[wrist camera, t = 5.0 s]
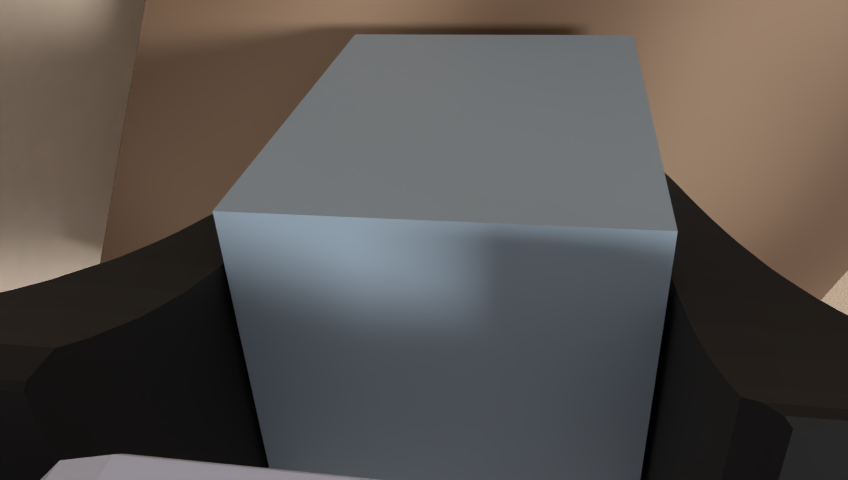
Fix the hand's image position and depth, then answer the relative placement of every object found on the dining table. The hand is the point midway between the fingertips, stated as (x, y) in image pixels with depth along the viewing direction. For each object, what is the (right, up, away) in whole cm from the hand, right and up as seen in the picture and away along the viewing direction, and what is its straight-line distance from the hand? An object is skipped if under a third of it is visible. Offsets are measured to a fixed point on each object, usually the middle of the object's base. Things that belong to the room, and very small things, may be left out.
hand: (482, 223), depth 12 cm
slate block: (0, +1, +1) cm, 2 cm away
